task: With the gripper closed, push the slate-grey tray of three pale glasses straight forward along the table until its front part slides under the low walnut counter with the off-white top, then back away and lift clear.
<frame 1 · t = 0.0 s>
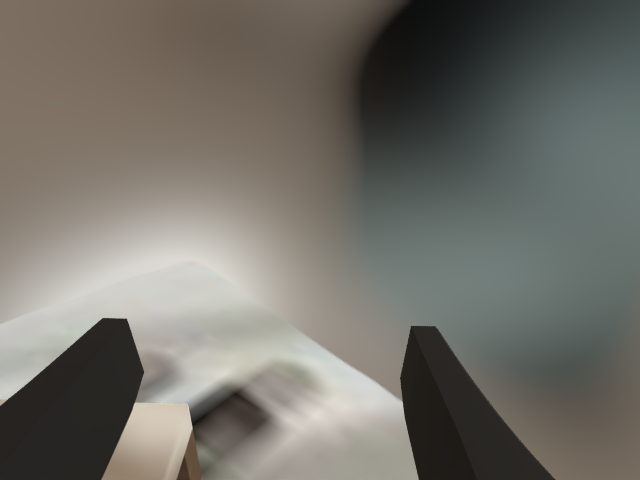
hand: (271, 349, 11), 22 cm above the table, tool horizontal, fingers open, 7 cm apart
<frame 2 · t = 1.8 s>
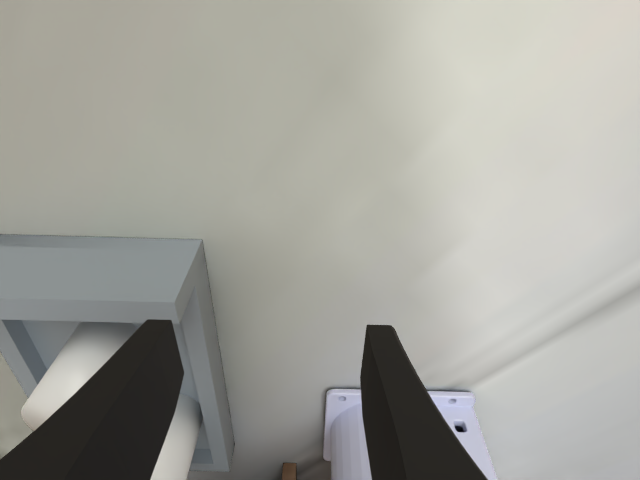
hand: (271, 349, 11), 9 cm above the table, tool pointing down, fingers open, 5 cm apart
tray: (131, 359, 25), on the table
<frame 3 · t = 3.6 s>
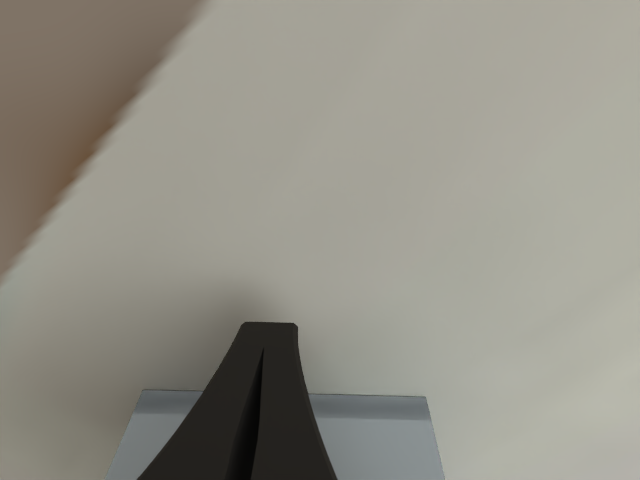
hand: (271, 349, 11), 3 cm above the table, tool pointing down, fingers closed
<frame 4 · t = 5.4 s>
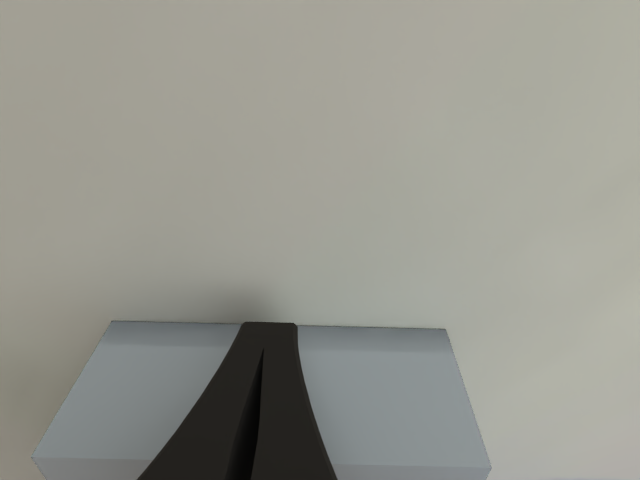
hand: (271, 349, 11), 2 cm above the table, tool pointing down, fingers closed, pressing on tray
tray: (285, 467, 19), on the table, touching gripper
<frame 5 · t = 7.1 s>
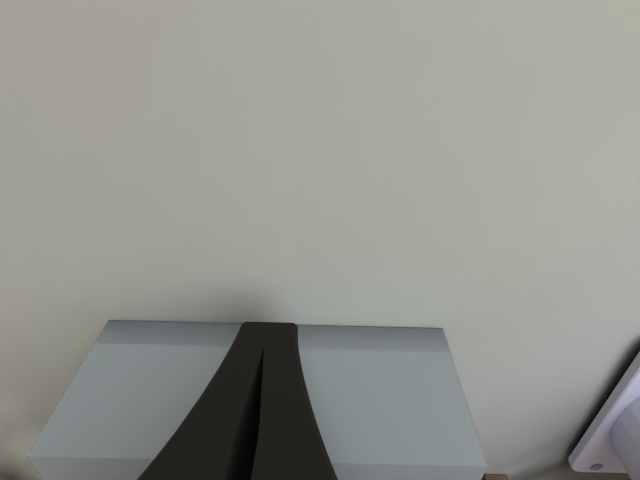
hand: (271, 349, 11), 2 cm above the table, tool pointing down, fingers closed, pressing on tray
tray: (282, 467, 19), on the table, touching gripper
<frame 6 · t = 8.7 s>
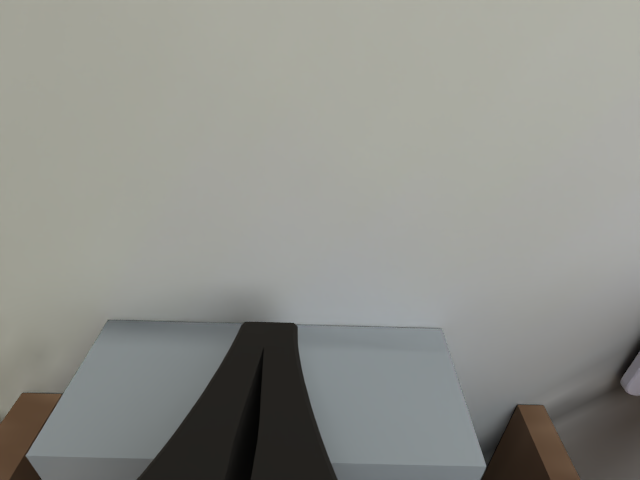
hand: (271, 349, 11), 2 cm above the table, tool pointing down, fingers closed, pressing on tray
tray: (282, 467, 19), on the table, touching gripper
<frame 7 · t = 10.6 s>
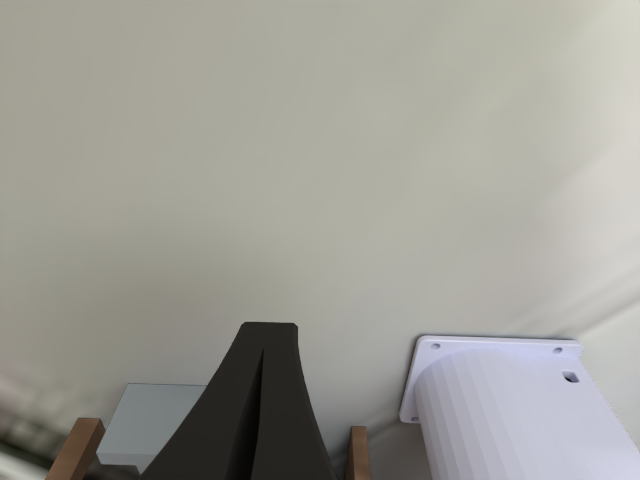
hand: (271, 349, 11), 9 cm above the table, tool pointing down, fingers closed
tray: (226, 460, 31), on the table
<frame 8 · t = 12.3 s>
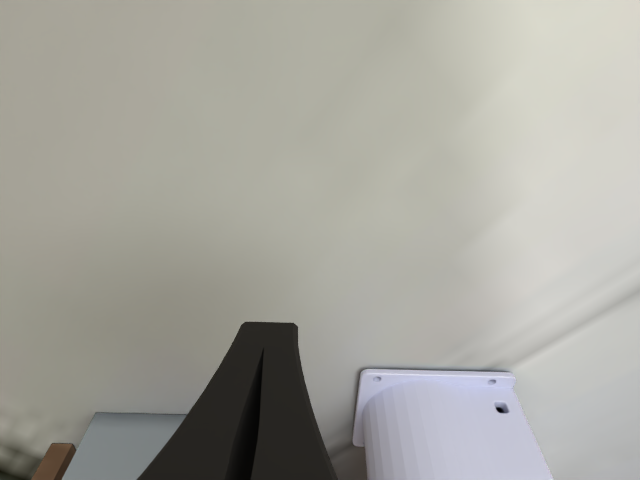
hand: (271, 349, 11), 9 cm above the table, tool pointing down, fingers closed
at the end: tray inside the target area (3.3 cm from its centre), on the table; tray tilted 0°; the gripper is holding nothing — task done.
